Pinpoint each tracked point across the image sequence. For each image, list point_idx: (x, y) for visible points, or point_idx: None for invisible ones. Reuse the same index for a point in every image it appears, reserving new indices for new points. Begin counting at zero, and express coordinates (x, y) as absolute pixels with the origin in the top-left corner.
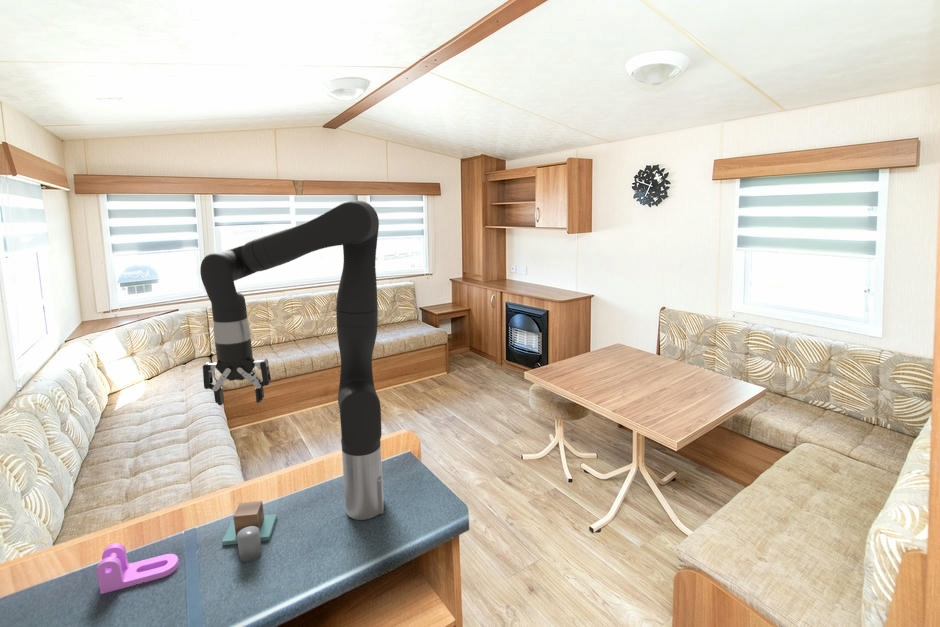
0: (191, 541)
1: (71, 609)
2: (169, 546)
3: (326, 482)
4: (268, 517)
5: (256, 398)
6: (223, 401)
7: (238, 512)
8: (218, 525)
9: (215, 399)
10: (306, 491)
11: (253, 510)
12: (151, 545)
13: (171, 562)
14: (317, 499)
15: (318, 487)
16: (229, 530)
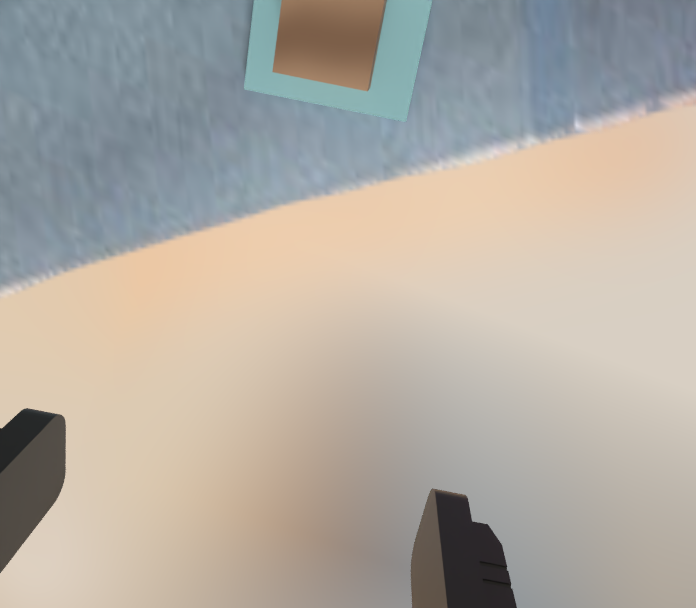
0: (548, 51)
1: None
2: (623, 49)
3: (83, 258)
4: (272, 77)
5: (24, 440)
6: (415, 550)
7: (367, 11)
8: (456, 121)
9: (498, 560)
10: (152, 226)
11: (303, 2)
12: (685, 81)
13: None
14: (106, 156)
15: (109, 236)
16: (413, 43)
